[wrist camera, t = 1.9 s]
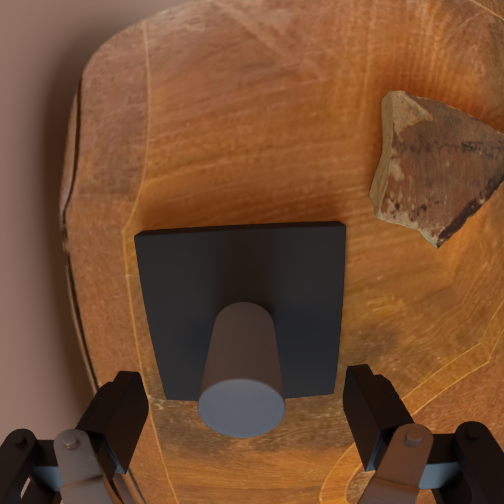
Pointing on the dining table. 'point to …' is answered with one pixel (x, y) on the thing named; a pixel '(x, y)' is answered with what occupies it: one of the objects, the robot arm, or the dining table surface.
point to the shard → (434, 165)
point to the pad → (251, 274)
